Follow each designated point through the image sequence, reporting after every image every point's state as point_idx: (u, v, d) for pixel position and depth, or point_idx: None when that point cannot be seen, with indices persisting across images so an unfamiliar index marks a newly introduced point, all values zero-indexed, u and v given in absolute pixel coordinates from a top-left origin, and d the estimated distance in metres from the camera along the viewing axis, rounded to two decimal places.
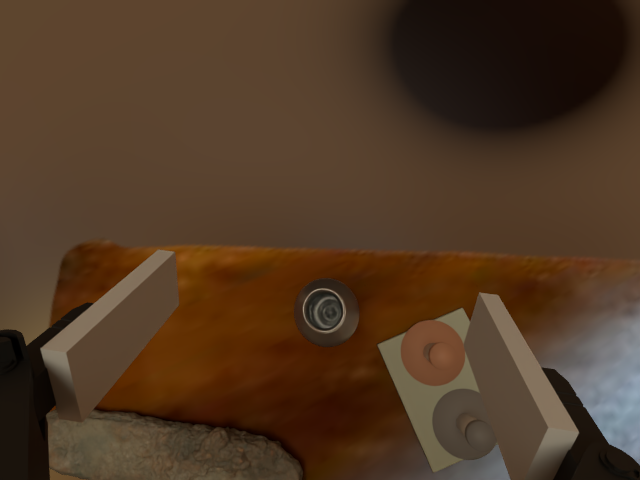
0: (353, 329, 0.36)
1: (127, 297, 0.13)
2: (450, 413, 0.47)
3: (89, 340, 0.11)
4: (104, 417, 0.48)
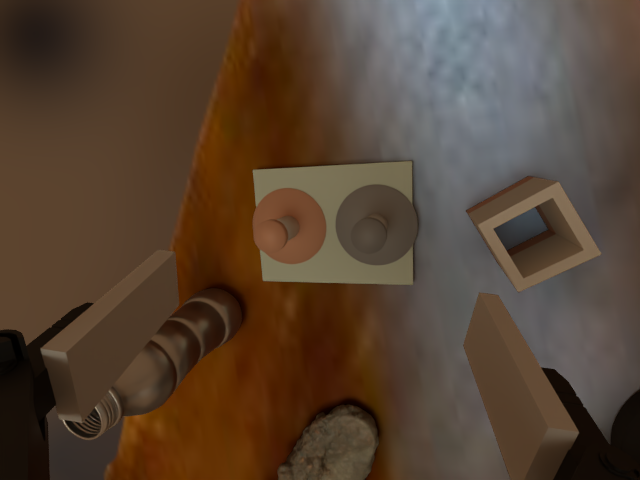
0: (152, 363, 0.30)
1: (127, 297, 0.13)
2: None
3: (89, 340, 0.11)
4: None
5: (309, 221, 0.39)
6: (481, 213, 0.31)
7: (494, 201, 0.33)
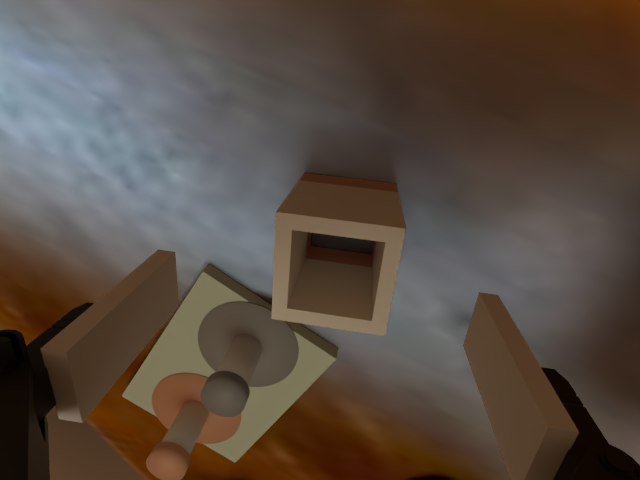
0: None
1: (127, 297, 0.13)
2: None
3: (89, 340, 0.11)
4: None
5: None
6: None
7: None
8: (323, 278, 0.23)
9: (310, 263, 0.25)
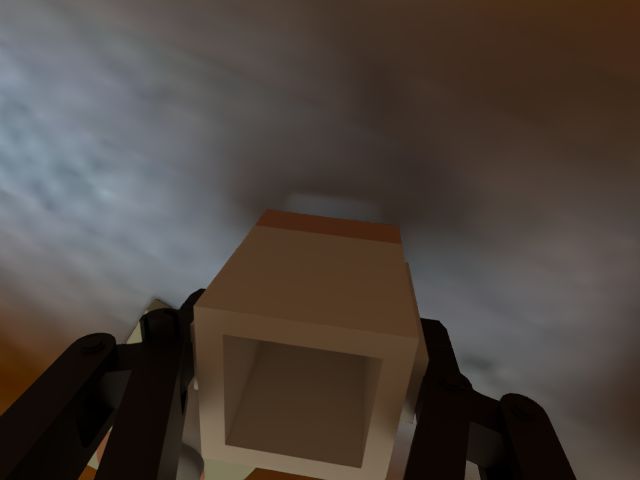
0: None
1: None
2: None
3: None
4: None
5: None
6: None
7: None
8: (291, 370, 0.15)
9: None
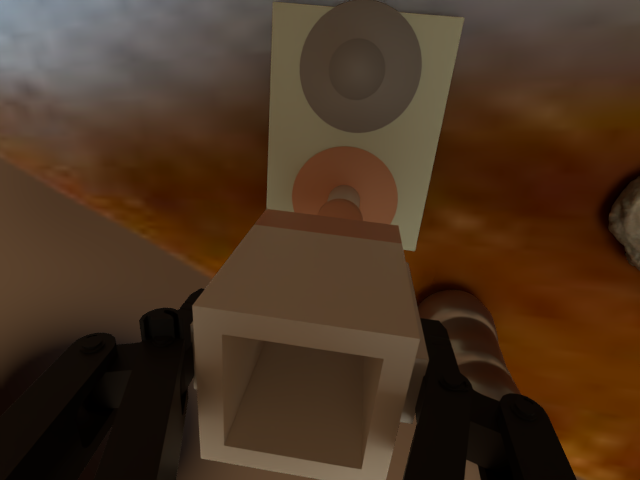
0: None
1: None
2: (373, 100, 0.26)
3: None
4: None
5: (340, 169, 0.28)
6: None
7: None
8: (290, 371, 0.15)
9: None
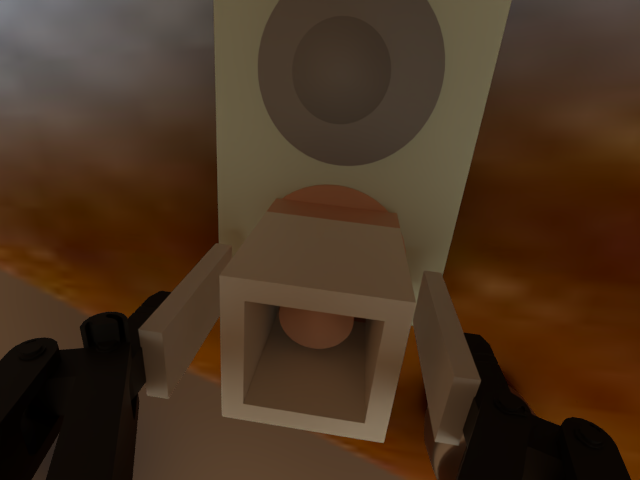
0: None
1: (200, 285, 0.14)
2: (370, 118, 0.17)
3: (175, 323, 0.12)
4: None
5: None
6: None
7: None
8: None
9: None
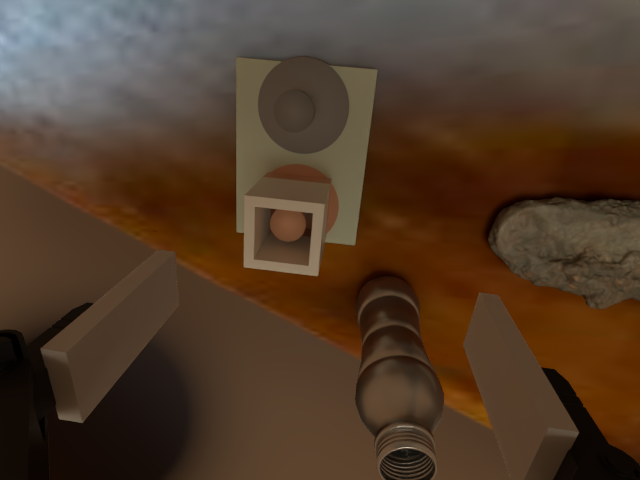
0: (380, 376, 0.26)
1: (127, 297, 0.13)
2: (314, 129, 0.34)
3: (89, 340, 0.11)
4: None
5: None
6: None
7: None
8: (280, 243, 0.34)
9: (272, 235, 0.35)
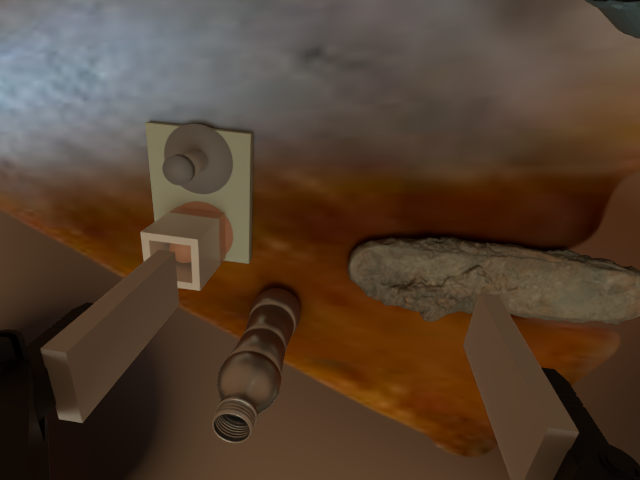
0: (229, 365, 0.36)
1: (127, 297, 0.13)
2: (208, 176, 0.44)
3: (89, 340, 0.11)
4: (561, 318, 0.45)
5: None
6: None
7: None
8: (181, 263, 0.44)
9: None
